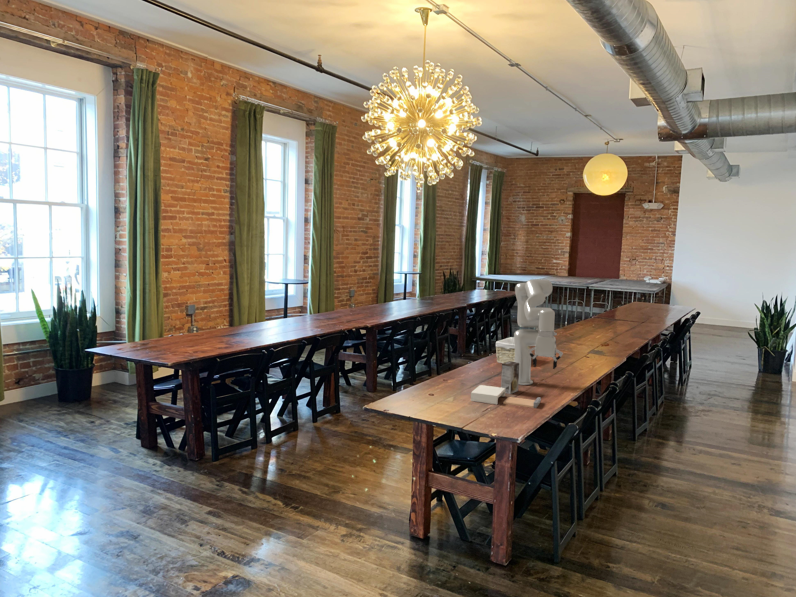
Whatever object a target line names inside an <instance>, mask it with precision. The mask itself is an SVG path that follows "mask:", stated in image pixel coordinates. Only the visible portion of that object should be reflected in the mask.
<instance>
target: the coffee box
mask: <svg viewBox="0 0 796 597" xmlns="http://www.w3.org/2000/svg"><path fill="white" fill-rule="evenodd" d="M500 378H501V382H500V387H501V388H505V394H509V395H512V394H513V393H514V394H515V393H517V392H519V363H516V362H512V361H509V362H506V363H501V377H500Z"/></svg>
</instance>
